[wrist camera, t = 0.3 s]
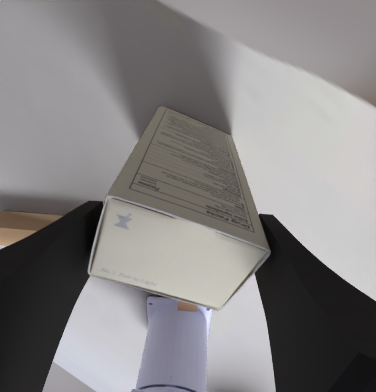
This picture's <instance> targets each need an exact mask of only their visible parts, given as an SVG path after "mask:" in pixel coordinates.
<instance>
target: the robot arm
mask: <svg viewBox="0 0 376 392" xmlns="http://www.w3.org/2000/svg"><path fill="white" fill-rule="evenodd" d="M102 209H103V202H100V201H88V202H86V203H84V204H83V205H81V206H79V207H78V208H76V209H74V210H73V211H71V212H69V213H68V214H66V215H64V216H63V217H61V218H59V219H58V220H56V221H54V222H53V223H51V224H49V225H47V226H46V227H44V228H42V229H40V230H38V231H37V232H35V233H33V234H31V235H29V236H27V237H25V238H24V239H21V240H19V241H17V242H15V243H13V244H11V245H9V246H7V247H4V248H2V249H0V392H42V390H43V387H44V384H45V381H46V378H47V375H48V373H49V370H50V367H51V364H52V361H53V359H54V356H55V353H56V350H57V348H58V345H59V342H60V340H61V337H62V335H63V332H64V329H65V327H66V324H67V322H68V320H69V317H70V315H71V312H72V310H73V307H74V305H75V303H76V301H77V299H78V297H79V295H80V293H81V291H82V289H83V287H84V286H85V284H86V282H87V280H88V278H89V276H90V275H89V274H88V265H89V260H90V255H91V250H92V246H93V242H94V238H95V235H96V231H97V227H98V223H99V220H100V216H101V212H102ZM259 218H260V221H261V224H262V227H263V230H264V233H265V236H266V239H267V242H268V245H269V248H270V251H271V254H270V256H269V257H268V258H267V259H266V260H265V262H264V263H263V264H262V265H261V266H260V267H259V268H258V269H257V271H256V272H255V276H256V280H257V284H258V288H259V292H260V296H261V300H262V304H263V308H264V312H265V316H266V321H267V327H268V334H269V340H270V347H271V354H272V362H273V370H274V378H275V387H276V392H376V301H375V300H373V299H372V298H370V297H369V296H367V295H366V294H364V293H363V292H361V291H360V290H358V289H357V288H355V287H354V286H352V285H351V284H349V283H348V282H347V281H345V280H344V279H342V278H341V277H340V276H339V275H337V274H336V273H335V272H333V271H332V270H331V269H329V268H328V267H327V266H326V265H325V264H323V263H322V262H321V261H320V260H319V259H318V258H316V257H315V256H314V255H313V254H312V253H311V252H310V251H309V250H307V249H306V248H305V247H304V246H303V245H302V244H301V243H300V242H299V241H298V240H297V239H296V238H295V237H294V236H293V235H292V234H291V233H290V232H289V231H288V230H287V229H286V228H285V227H284V226H283V225H282V224H281V223H280V222H279V221H278V220H277V219H276V218H275V217H274V216H273V215H268V214H259ZM211 314H212V309H209V308H205V307H202V306H197V312H190V311H179V310H178V300H176V299H172V298H164V297H153V296H149V297H147V315H148V332H147V337H146V342H145V346H144V351H143V356H142V361H141V365H140V370H139V375H138V380H137V384H136V389H132V391H131V392H207V338H208V332H209V326H210V320H211Z"/></svg>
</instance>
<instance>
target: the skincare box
mask: <svg viewBox="0 0 376 392" xmlns="http://www.w3.org/2000/svg"><path fill="white" fill-rule="evenodd" d="M270 254H271V251H270V248H269V245H268V242H267V239H266V236H265V233H264V230H263V227H262V224H261V221H260V218H259V215H258V212H257V209H256V206H255V203H254V200H253V197H252V194H251V191H250V188H249V185H248V182H247V179H246V176H245V173H244V170H243V168H242V165H241V161H240V159H239V156H238V152H237V149H236V147H235V144H234V141H233V138H232V136H230V135H228V134H226V133H224V132H222V131H220V130H217V129H215V128H213V127H211V126H209V125H206V124H204V123H202V122H200V121H197V120H195V119H192V118H190V117H188V116H186V115H183V114H181V113H179V112H176V111H174V110H171V109H169V108H166V107H164V106H159V107H158V109H157V111H156V112H155V114H154V116H153V117H152V119H151V121H150V123H149V124H148V126H147V128H146V129H145V131H144V133H143V134H142V136H141V138H140V140H139V141H138V143H137V144H136V146H135V148H134V150H133V151H132V153H131V155H130V156H129V158H128V160H127V162H126V163H125V165H124V167H123V168H122V170H121V172H120V173H119V175H118V177H117V179H116V180H115V182H114V184H113V185H112V187H111V189H110V190H109V192H108V194H107V195H106V199H105V203H104V206H103V209H102V212H101V216H100V220H99V223H98V227H97V231H96V235H95V238H94V242H93V246H92V250H91V255H90V260H89V265H88V274H89V275H91V276H94V277H98V278H101V279H104V280H108V281H111V282H114V283H118V284H122V285H125V286H129V287H133V288H136V289H139V290H143V291H147V292H150V293H154V294H158V295H161V296H164V297H169V298H172V299H176V300H179V301H183V302H187V303H191V304H195V305H198V306H202V307H205V308H209V309H213V310H217V311H219V310H221V309H222V308H223V307H224V306H225V305H226V304H227V303H228V302H229V301H230V300H231V298H232V297H233V296H234V295H235V294H236V293H237V292H238V291H239V290H240V289H241V288H242V287H243V285H244V284H245V283H246V282H247V281H248V280H249V279H250V278H251V276H252V275H253V274H254V273H255V272H256V271H257V269H258V268H259V267H260V266H261V265H262V264H263V263H264V262H265V260H266V259H267V258H268V257H269V256H270Z"/></svg>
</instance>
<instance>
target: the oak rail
mask: <svg viewBox="0 0 376 392" xmlns="http://www.w3.org/2000/svg"><path fill="white" fill-rule="evenodd" d="M61 217H63V215H50V214H38V213H26V212H13V211H3V212H2V213H0V245H5V246H9V245H11V244H13V243H15V242H17V241H19V240H21V239H24V238H25V237H27V236H29V235H31V234H33V233H35V232H37V231H38V230H40V229H42V228H44V227H46V226H47V225H49V224H51V223H53V222H54V221H56V220H58V219H59V218H61Z"/></svg>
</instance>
